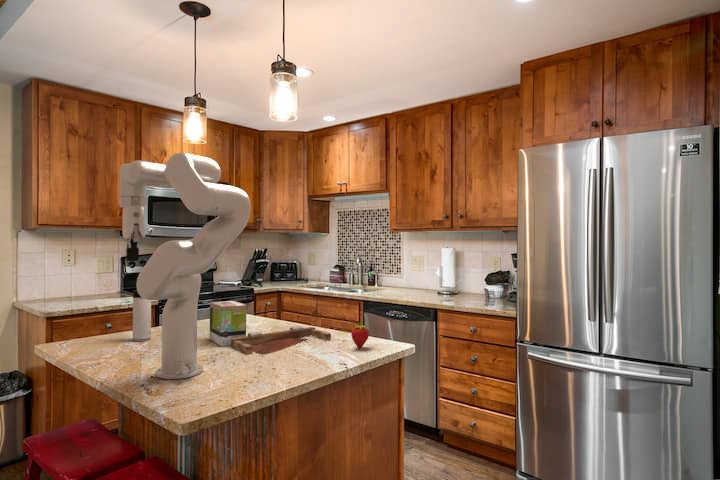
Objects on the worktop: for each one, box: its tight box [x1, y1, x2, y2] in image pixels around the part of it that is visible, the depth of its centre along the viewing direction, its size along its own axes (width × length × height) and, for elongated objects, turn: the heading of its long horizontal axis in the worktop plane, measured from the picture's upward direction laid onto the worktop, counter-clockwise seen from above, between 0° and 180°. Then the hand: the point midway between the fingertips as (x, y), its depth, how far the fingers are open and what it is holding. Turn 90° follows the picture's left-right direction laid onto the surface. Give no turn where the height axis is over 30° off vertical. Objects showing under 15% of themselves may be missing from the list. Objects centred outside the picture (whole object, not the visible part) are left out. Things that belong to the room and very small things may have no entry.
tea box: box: [209, 300, 248, 347], centre depth 168 cm, size 15×10×15 cm
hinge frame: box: [230, 325, 332, 355], centre depth 166 cm, size 14×35×4 cm, turn 129°
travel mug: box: [132, 289, 152, 343], centre depth 169 cm, size 6×7×20 cm
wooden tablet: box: [252, 337, 309, 355], centre depth 163 cm, size 27×10×2 cm, turn 148°
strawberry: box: [350, 324, 370, 349], centre depth 158 cm, size 6×8×10 cm
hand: (132, 260), depth 140 cm, fingers closed
